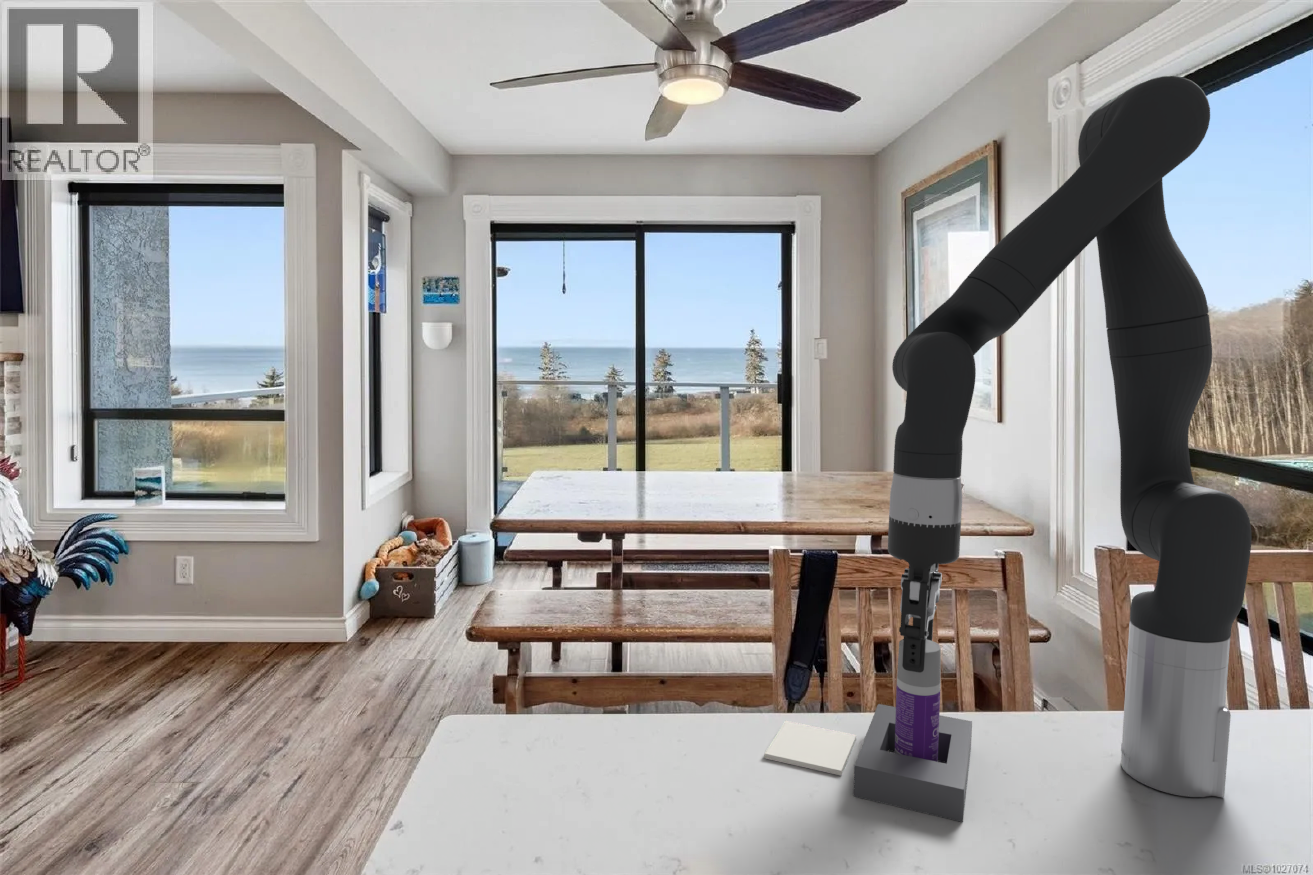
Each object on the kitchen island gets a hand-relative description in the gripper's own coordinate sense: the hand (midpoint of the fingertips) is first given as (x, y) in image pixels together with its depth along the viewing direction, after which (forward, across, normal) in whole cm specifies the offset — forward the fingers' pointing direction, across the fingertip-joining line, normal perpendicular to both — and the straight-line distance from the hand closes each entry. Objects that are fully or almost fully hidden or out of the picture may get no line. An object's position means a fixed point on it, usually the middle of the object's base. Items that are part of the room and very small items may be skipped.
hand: (917, 656), depth 85 cm
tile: (+14, 0, +12) cm, 18 cm away
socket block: (+14, 0, 0) cm, 14 cm away
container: (+14, 0, 0) cm, 14 cm away
